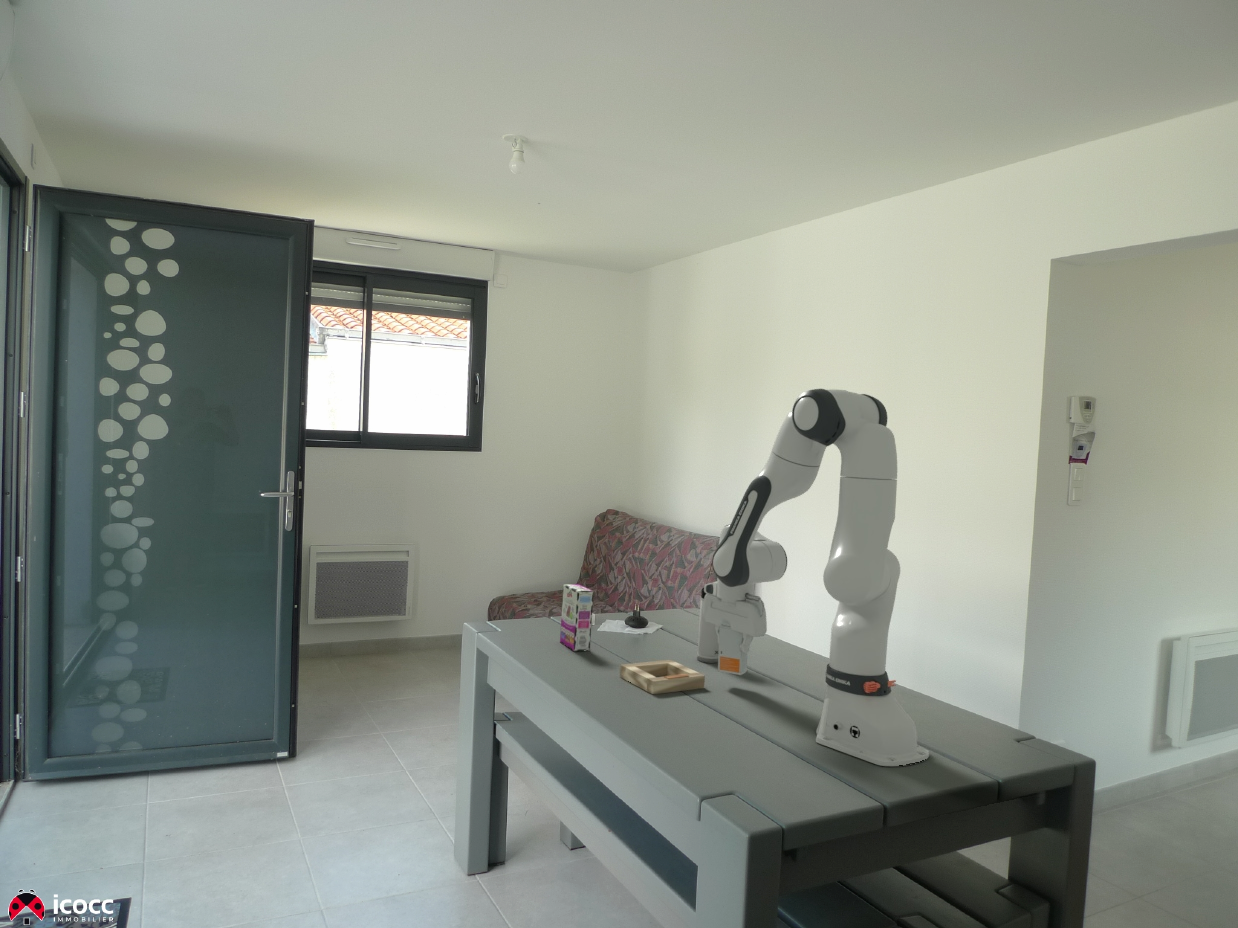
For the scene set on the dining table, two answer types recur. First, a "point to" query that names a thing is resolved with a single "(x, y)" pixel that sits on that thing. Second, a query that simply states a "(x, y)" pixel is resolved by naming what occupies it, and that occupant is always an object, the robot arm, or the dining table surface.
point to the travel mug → (707, 638)
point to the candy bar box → (576, 617)
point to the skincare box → (731, 651)
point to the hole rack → (675, 680)
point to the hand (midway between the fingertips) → (733, 647)
